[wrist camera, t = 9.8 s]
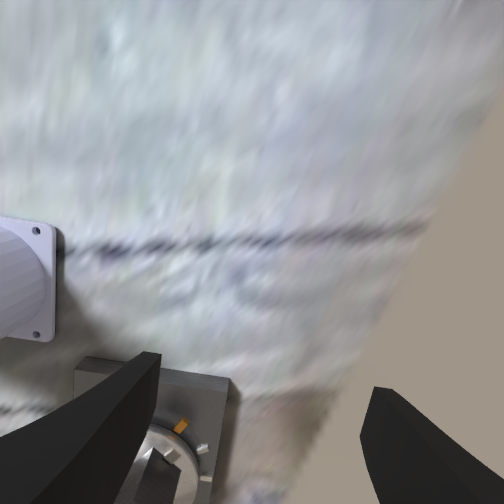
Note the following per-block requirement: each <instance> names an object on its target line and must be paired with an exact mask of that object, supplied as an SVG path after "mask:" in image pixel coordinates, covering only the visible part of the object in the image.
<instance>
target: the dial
mask: <svg viewBox="0 0 504 504" xmlns="http://www.w3.org/2000/svg"><path fill="white" fill-rule="evenodd" d="M198 480H199V467H198V463H197V460H196V457H195V455H194V453H193V452H192V450H191V449H190V447H189V446H188V445H187V444H186V443H185V442H184V441H183V440H182V439H181V438H180V437H178V436H177V435H176V434H174V433H172V432H171V431H169V430H167V429H165V428H162V427H159V426H156V425H153V424H150V426H149V429H148V431H147V434H146V437H145V439H144V441H143V443H142V446H141V448H140V450H139V452H138V454H137V456H136V458H135V460H134V462H133V464H132V467H131V469H130V471H129V473H128V475H127V477H126V479H125V481H124V483H123V485H122V487H121V489H120V492H119V494H118V496H117V498H116V500H115V502H114V504H192V503H193V501H194V499H195V495H196V491H197V486H198Z"/></svg>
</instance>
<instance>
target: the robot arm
mask: <svg viewBox="0 0 504 504" xmlns="http://www.w3.org/2000/svg"><path fill="white" fill-rule="evenodd" d="M37 227H38V228H39V229H40V231H41V232H40V234H39V233H37V231H36V228H37ZM55 286H56V229H55V228H54V226H52V225H51V224H48V223H42V222H35V221H29V220H23V219H17V218H10V217H4V216H0V340H1V339H2V338H4V337H5V336H6V337H12V338H19V339H26V340H32V341H39V342H49V341H51V340H52V339H53V338H54V336H55ZM36 331H37V332H39V333H40V335H38V334H37V332H36ZM161 355H162V354H157V353H151V352H144V351H143V352H142V353H140V354H139V355H138V356H136V357H135V358H133V359H132V360H131V361H129V362H128V363H127V364H125V365H124V366H122V367H121V368H120V369H118V370H117V371H116V372H114V373H113V374H111V375H110V376H109V377H107V378H106V379H104V380H103V381H101V382H100V383H99V384H97V385H96V386H94V387H93V388H91V389H90V390H88V391H86V392H85V393H83V394H82V395H80V396H78V397H77V398H75V399H74V400H72V401H71V402H69V403H67V404H65V405H64V406H62V407H60V408H58V409H57V410H55V411H53V412H51V413H49V414H47V415H46V416H44V417H42V418H40V419H38V420H36V421H34V422H32V423H30V424H28V425H26V426H24V427H22V428H19V429H17V430H15V431H13V432H11V433H8V434H6V435H4V436H2V437H0V504H114V502H115V500H116V498H117V496H118V494H119V492H120V489H121V487H122V485H123V483H124V481H125V479H126V477H127V475H128V473H129V471H130V469H131V467H132V464H133V462H134V460H135V458H136V456H137V454H138V452H139V450H140V448H141V446H142V443H143V441H144V439H145V437H146V434H147V431H148V429H149V426H150V423H151V420H152V417H153V414H154V411H155V408H156V403H157V394H158V384H159V375H160V365H161ZM360 440H361V445H362V450H363V454H364V458H365V462H366V466H367V469H368V472H369V475H370V478H371V481H372V483H373V486H374V489H375V492H376V494H377V497H378V500H379V502H380V504H504V479H503V478H501V477H500V476H498V475H497V474H496V473H495V472H493V471H492V470H490V469H489V468H488V467H487V466H485V465H484V464H483V463H481V462H480V461H479V460H478V459H476V458H475V457H474V456H472V455H471V454H470V453H469V452H467V451H466V450H465V449H464V448H462V447H461V446H460V445H459V444H457V443H456V442H455V441H454V440H452V439H451V438H450V437H449V436H448V435H446V434H445V433H444V432H443V431H442V430H440V429H439V428H438V427H437V426H436V425H434V423H432V422H431V421H430V420H429V419H428V418H427V417H425V416H424V415H423V414H422V413H421V412H419V411H418V410H417V409H416V408H415V407H414V406H413V405H411V404H410V403H409V402H408V401H407V400H405V399H404V398H403V397H402V396H401V395H399V394H398V393H397V392H395V391H394V390H393V389H388V388H381V387H374V389H373V392H372V396H371V399H370V403H369V407H368V409H367V413H366V416H365V420H364V423H363V427H362V430H361V434H360Z"/></svg>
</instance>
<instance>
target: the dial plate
mask: <svg viewBox="0 0 504 504" xmlns="http://www.w3.org/2000/svg"><path fill="white" fill-rule="evenodd" d="M125 364H127V363H125V362H118V361H111V360H105V359H98V358H91V357H85V358H84V359H83V360H82V361H81V363H80V364H79V365H78V366H77V367H76V368H75V369H74V385H73V400H74V399H75V398H77V397H78V396H80V395H82V394H83V393H85V392H86V391H88V390H90V389H91V388H93V387H94V386H96V385H97V384H99V383H100V382H101V381H103V380H104V379H106V378H107V377H109V376H110V375H111V374H113V373H114V372H116V371H117V370H118V369H120V368H121V367H122V366H124V365H125ZM228 386H229V378H224V377H217V376H211V375H204V374H198V373H191V372H184V371H178V370H171V369H164V368H160V375H159V384H158V394H157V403H156V408H155V411H154V414H153V417H152V420H151V423H150V424H153V425H156V426H159V427H162V428H165V429H167V430H169V431H171V432H172V433H174V434H176V435H177V436H178V437H180V438H181V439H182V440H183V441H184V442H185V443H186V444H187V445H188V446H189V447H190V449H191V450H192V452H193V453H194V455H195V457H196V460H197V463H198V467H199V480H198V486H197V491H196V495H195V499H194V501H193V503H192V504H209V502H210V496H211V490H212V484H213V478H214V472H215V466H216V460H217V454H218V447H219V441H220V435H221V429H222V423H223V417H224V411H225V405H226V399H227V393H228Z"/></svg>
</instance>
